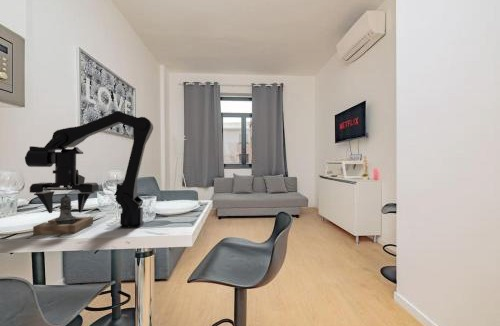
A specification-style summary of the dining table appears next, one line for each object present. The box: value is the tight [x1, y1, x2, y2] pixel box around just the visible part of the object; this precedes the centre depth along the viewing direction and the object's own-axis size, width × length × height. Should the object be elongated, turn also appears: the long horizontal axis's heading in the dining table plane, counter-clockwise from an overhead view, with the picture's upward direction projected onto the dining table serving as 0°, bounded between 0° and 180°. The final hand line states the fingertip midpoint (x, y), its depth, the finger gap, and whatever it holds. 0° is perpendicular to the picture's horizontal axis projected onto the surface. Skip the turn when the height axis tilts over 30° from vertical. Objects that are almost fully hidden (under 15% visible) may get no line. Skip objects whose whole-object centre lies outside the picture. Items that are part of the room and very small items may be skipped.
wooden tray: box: [32, 216, 94, 236], centre depth 84 cm, size 12×12×2 cm
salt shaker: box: [54, 193, 77, 224], centre depth 84 cm, size 6×6×12 cm
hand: (65, 212), depth 84 cm, fingers open, 9 cm apart
